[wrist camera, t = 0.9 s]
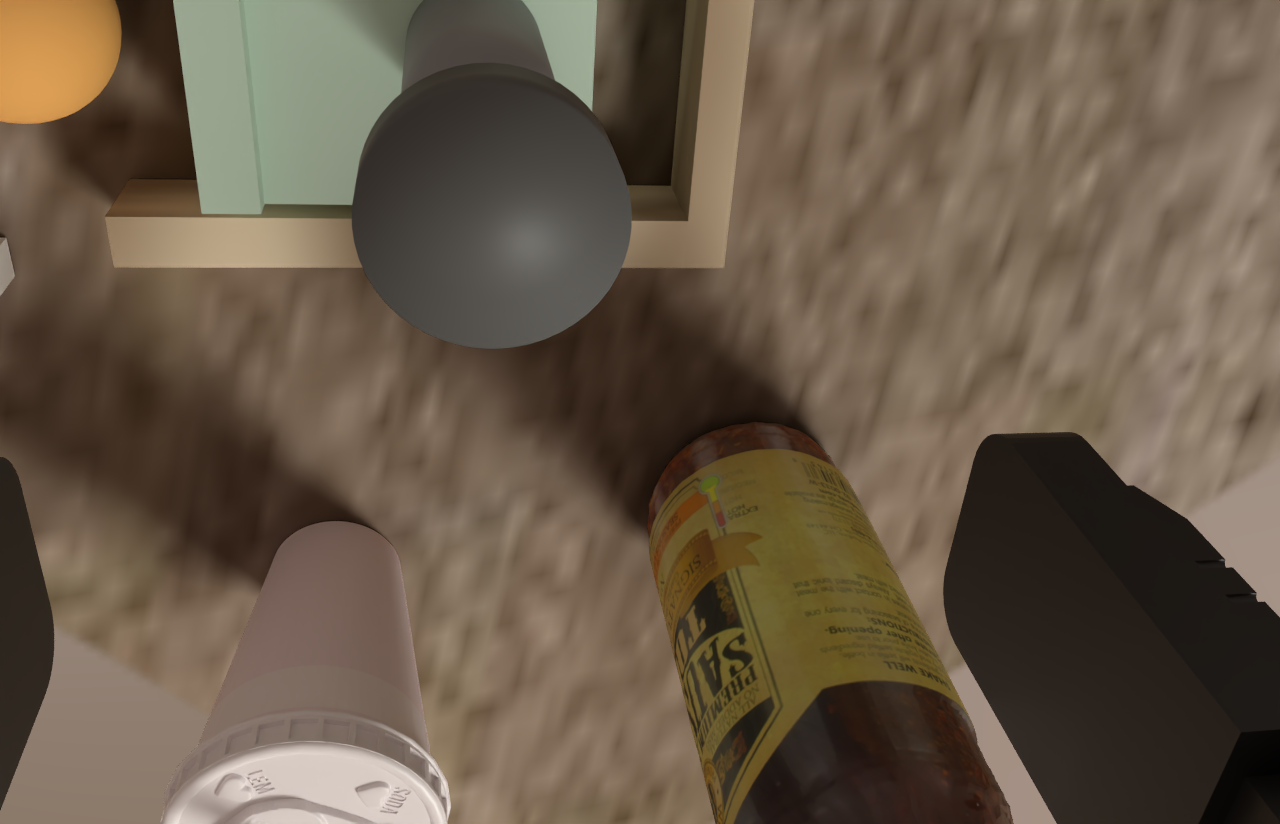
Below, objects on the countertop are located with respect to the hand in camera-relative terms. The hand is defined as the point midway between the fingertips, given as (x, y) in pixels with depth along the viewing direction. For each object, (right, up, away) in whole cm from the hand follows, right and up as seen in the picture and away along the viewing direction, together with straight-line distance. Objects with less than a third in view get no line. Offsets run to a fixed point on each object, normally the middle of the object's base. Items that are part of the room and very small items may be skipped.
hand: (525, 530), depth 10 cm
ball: (-12, +9, +13) cm, 20 cm away
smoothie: (-8, -4, +24) cm, 26 cm away
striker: (-4, +10, +16) cm, 20 cm away
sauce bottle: (+4, -2, +25) cm, 26 cm away
